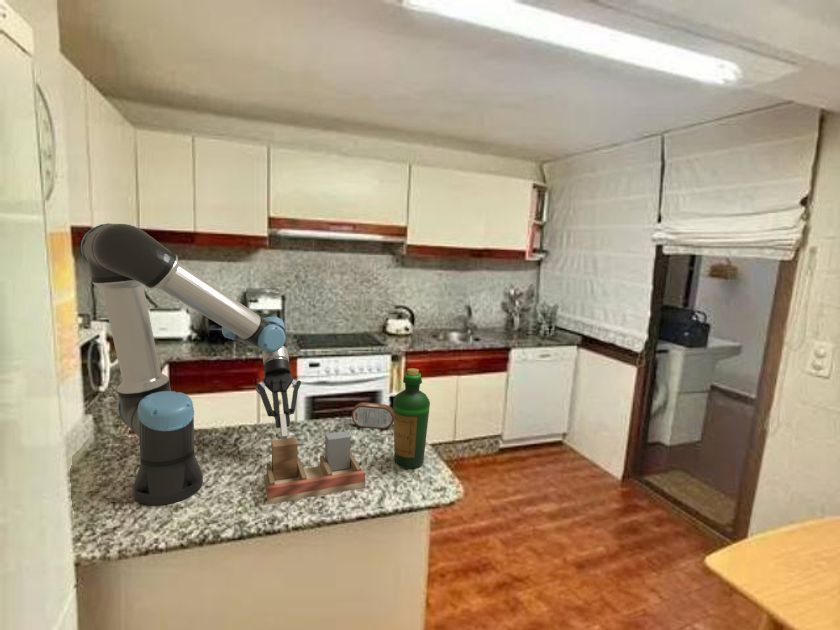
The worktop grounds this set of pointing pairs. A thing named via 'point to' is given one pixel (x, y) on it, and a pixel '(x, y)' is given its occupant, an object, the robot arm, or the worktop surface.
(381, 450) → the worktop surface
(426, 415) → the bottle
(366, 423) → the tin
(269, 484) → the wooden compartment tray
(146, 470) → the robot arm
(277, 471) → the brown box
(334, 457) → the grey block
